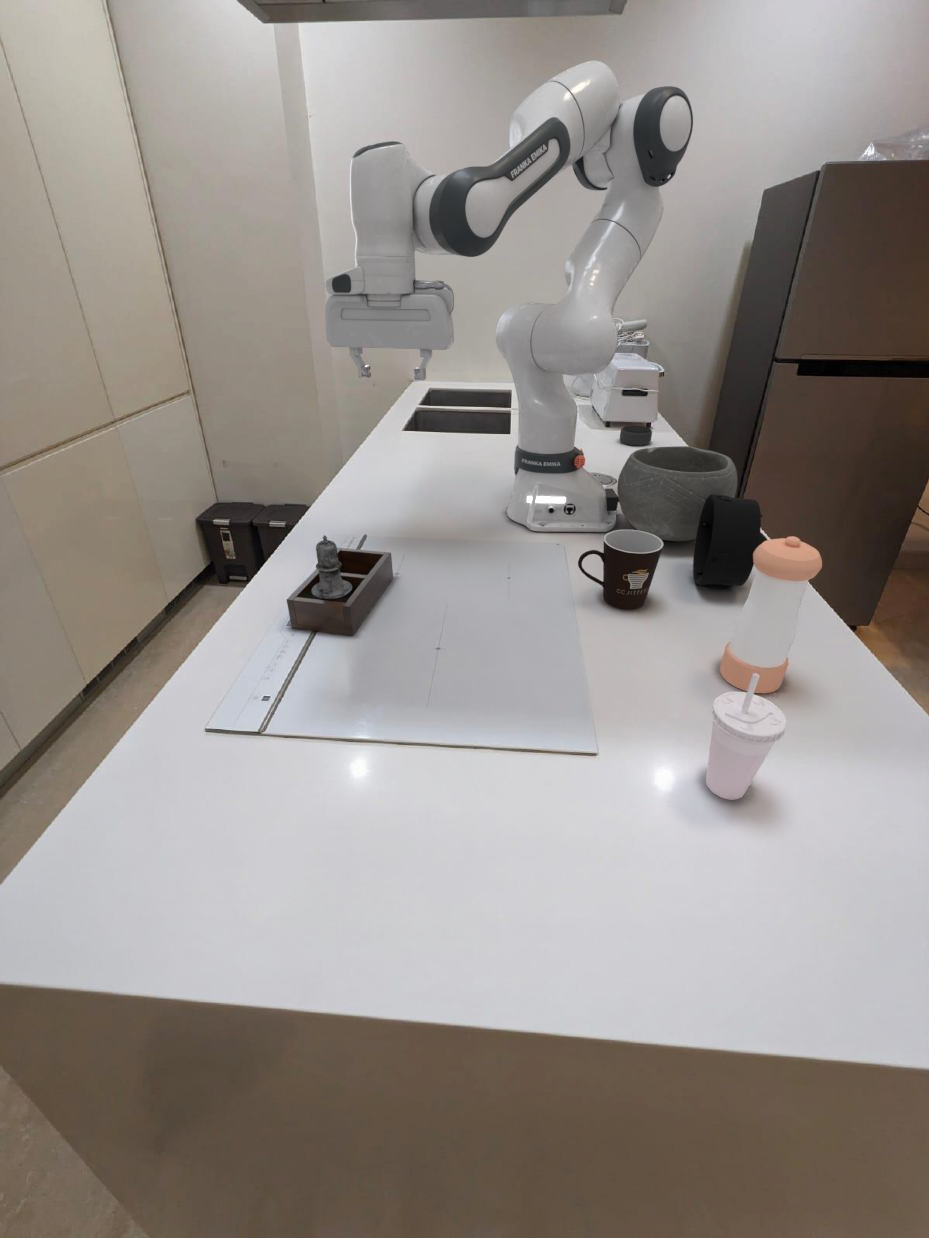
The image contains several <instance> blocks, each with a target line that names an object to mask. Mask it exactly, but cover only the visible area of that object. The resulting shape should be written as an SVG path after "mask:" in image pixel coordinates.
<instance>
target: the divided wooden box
mask: <svg viewBox="0 0 929 1238" xmlns="http://www.w3.org/2000/svg"><path fill="white" fill-rule="evenodd" d="M337 554H338V561H340V562H341V564H342V565H341V567H340V573H341V578H342V580H345V581H348V582H349V583H351V585H352V590H351V594H350V598H349V599H348V600H347V602H346V603H344V602H335V601H326V600H318V599H315V596H314V595H313V594H312V588H313V587H314V586H315V585H316V584H318V583H319V582H320V576H319V570H318V569H317V568H315V569H314V570H313V571H312V573H310V575H308V577H307V578H306V579H305V580H304V581H303V582H302V583H301V584H300V585H299V586H298V587H297V588H296V589H295V590H294V591H292V593H291V594H290V595H289V597H287V598H286V605H287V609H288V615H289V621H290V626H291V629H296V630H302V631H303V630H305V631H312V632H320V633H327V634H335V635H344V636H351V637H352V636H353V637H354V635H355V634H356V633H357V631H358V629H360V627H361V626H362V624H363V622H364V621H365V619H366V618H367V617H368V615H369V614H370V613H371V611H372V610H373V608H374V606H375V605H377V602H378V601H379V599H380V598H381V597H382V595H383V594H384V593H385V591H386V589H387V588H388V586H389V585H390V583H391V582H392V581H393V580H394V573H393V559H392V558H393V557H392V552H389V551H379V550H368V549H367V550H366V549H359V548H357V549H356V548H348V547H347V548H346V547H338V546H337Z"/></svg>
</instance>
